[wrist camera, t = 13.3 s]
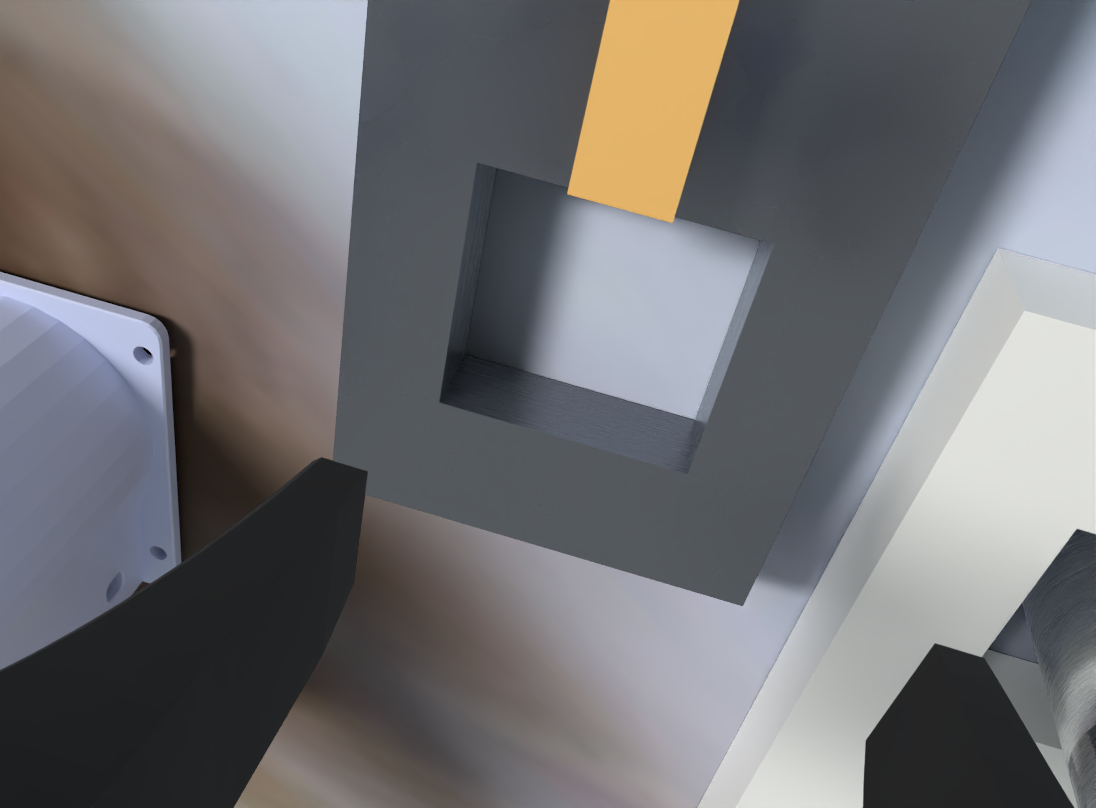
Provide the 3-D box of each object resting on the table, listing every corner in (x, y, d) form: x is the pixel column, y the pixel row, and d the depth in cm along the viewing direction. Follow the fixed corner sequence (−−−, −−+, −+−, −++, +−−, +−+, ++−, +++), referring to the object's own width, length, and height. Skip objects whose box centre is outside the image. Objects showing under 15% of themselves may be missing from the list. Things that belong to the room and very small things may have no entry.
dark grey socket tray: (746, 547, 23) (743, 606, 22) (362, 435, 24) (331, 484, 22) (1176, -401, 13) (1234, -424, 11) (460, -567, 13) (414, -611, 12)
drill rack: (1042, 952, 30) (1060, 1038, 28) (679, 840, 31) (672, 915, 29) (1645, 422, 17) (1758, 511, 15) (998, 247, 18) (1024, 310, 16)
